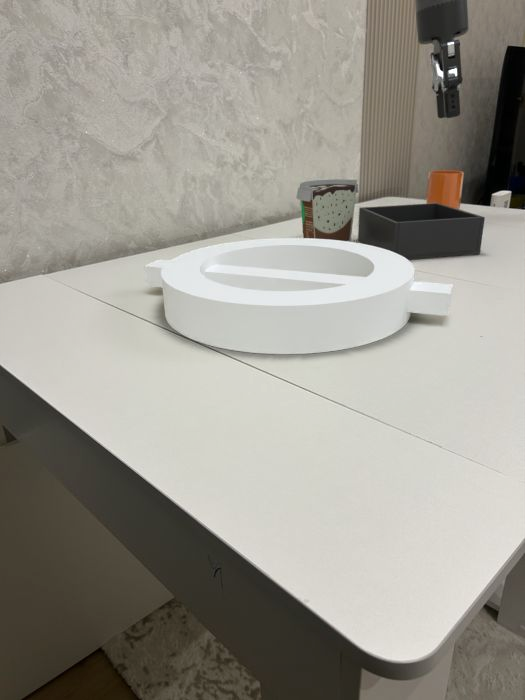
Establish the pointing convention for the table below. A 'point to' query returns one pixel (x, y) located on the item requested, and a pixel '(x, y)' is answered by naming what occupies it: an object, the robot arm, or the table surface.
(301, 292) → the ring with crossbar
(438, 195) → the drinking cup
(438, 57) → the robot arm
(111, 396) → the table surface
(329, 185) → the food container
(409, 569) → the table surface
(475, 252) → the basket
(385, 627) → the table surface
